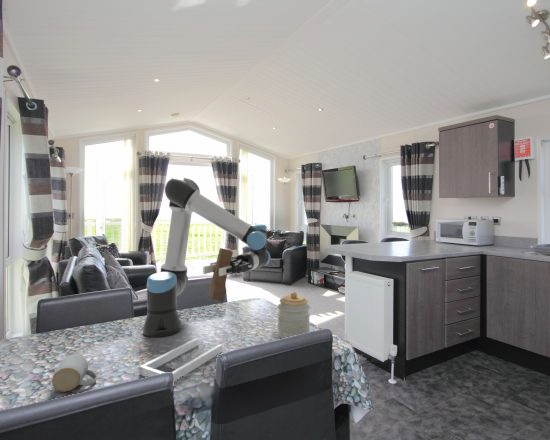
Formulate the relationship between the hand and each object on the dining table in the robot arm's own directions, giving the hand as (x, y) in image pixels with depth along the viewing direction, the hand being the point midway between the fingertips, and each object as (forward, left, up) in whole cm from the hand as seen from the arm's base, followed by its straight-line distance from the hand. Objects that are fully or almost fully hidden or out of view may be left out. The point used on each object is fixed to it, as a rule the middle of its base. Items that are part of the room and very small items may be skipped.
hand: (211, 271), depth 120 cm
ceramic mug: (-18, -40, -28) cm, 52 cm away
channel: (0, -14, -28) cm, 31 cm away
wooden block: (0, +3, -10) cm, 11 cm away
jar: (+22, +24, -28) cm, 43 cm away
